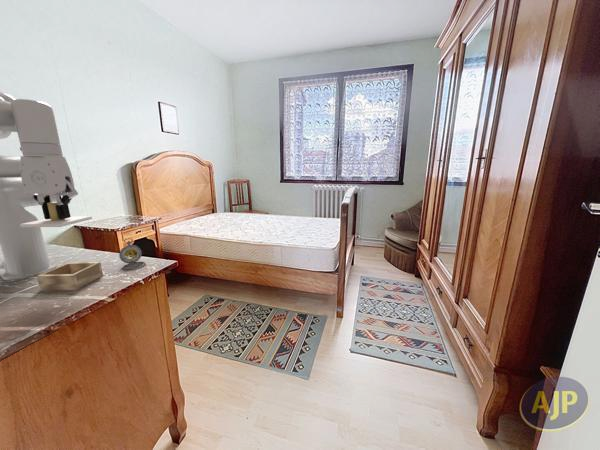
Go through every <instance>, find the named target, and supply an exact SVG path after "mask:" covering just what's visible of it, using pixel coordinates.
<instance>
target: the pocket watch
mask: <svg viewBox="0 0 600 450" xmlns="http://www.w3.org/2000/svg"><path fill="white" fill-rule="evenodd" d="M126 240H128V241H126ZM130 240H131V241H130ZM133 240H134V239H133V238H132V237H131V238H129V237H128V238H125V239H124V240H123V243H125V244H128V245H126V246H124V247H123V248H121V249H120V252H119V253H118V255H119V256H118V257H119V259H120V260H121V261H122V262H123V263H125V265H123V267H122V268H123V270H125V271H133V270H138V269H141V268H143V267H145V266H146V262H145V261H140V259H141V257H142V255H143V253H142V252H143V251H142V249H141V248H140V247H139V246H138V245H135V244H131V243H133ZM135 264H142V265H140V266H138V267H133V268H126V267H128V266H130V265H135Z"/></svg>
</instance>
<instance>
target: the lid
mask: <svg viewBox="0 0 600 450" xmlns="http://www.w3.org/2000/svg"><path fill="white" fill-rule="evenodd" d="M55 205H58V204H57V202H50V203H47V206H48V210H49V214H50V218H51V219H45V218H42V219H38V221H33V222H28V223H23V224H20V226H21V227H40V228H63V227H67V226H71V225H74V224H77V223H82V222H84V221H85V222H87V221H89V220H92V219H93V217H92V215H91V216H90V215H89V216H87V215H86V216H85V215H84V216H83V215H82V216H79V215H78V216H77V215H76V216H71V215H70V218H65V219H58V215H57V211H56V207H55Z"/></svg>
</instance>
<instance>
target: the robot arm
mask: <svg viewBox="0 0 600 450" xmlns="http://www.w3.org/2000/svg"><path fill="white" fill-rule="evenodd" d="M13 132H14V133H17V137H18V141H19V143H20V144H19V145H20V146H19V150H20V152H21V153H22V156H21V155H20V156H19V155H0V249H1V253H2V255H3V259H4V261H2V263H1V264H0V270H1V269H3V270H4V271H5V272H4V273H3V274H2V275H1V279H2V280H4V281H10V280H11V281H12V280H21V279H25V278H26V279H27V278H32V277H35V276H36V277H37V276H38V275H40V274H42V273H45V272H47V271H50V270H52V269H54V268H57V267H58V265H57V264H56V262H50V259H49V256H48V252H47V248H46V243H45V241H44V235H43V232H42V229H41V228H42V227H21V226H20V224H23V223H28V222H33V221H38V220H39V219H38V217H36V215H34V214H33V213H32V212H30V211H28V210H27V209H26V208H29V207H33V206H34V207H35V206H41V209H42V214H43V217H44V218H43V219H51V218H50V214H49V210H48V206H47V203H50V202H57V204H58V205H55V207H56V211H57V215H58V219H65V218H70V216H71V211H70V208H69V204H71V200H72V199H73V198H75V197H77V196H78V195H79V192H78V191H77V190H76V189H75V184H74V183H75V181H74V178H73V174H72V172H71V168H70V166H69V164H68V162H67V159H66V157H65V156H63V151H62V146H61V142H60V137H59V132H58V127H57V123H56V118H55V113H54V110H53V107H52V106H51V105H49V104H48V103H46V102H44V101H39V100H33V99H25V98H18V99H17V98H14V97H13V96H12V95H10V94H8V93H5V92H3V91H0V139H2V140H3V139H6V138H8V137H10V136H11V133H13Z"/></svg>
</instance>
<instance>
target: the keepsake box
mask: <svg viewBox="0 0 600 450" xmlns="http://www.w3.org/2000/svg"><path fill="white" fill-rule="evenodd" d="M103 275H104V273H103V269H102V263H101V262H100V261H90V262H89V261H85V262H83V261H81V262H80V261H79V262H67V263H64V264H62V265H60V266H57V267H56V268H54V269H52V270H50V271H47V272H45V273H42V274H40V275H36V280H37V283H38V287H39V291H43V292H44V291H77V290H79V289H80V288H83V287H84V286H86V285H87V284H89V283H91V282H94V281H95V280H97V279H98V278H100V277H102V276H103Z"/></svg>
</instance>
